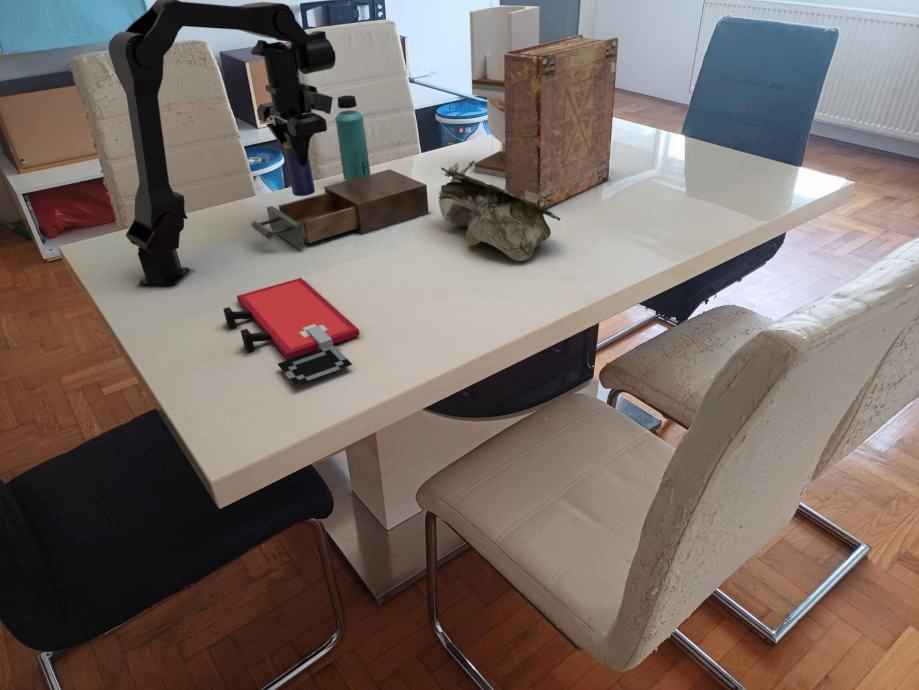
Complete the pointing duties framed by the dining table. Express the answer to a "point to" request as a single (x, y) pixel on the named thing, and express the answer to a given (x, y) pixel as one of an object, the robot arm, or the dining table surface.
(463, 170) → the dry twiggy plant
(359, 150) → the beverage bottle
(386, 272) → the dining table surface
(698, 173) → the dining table surface
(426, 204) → the cabinet
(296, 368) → the red board with handle
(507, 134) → the book
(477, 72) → the display case
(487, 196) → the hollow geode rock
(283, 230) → the drawer
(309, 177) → the tin
